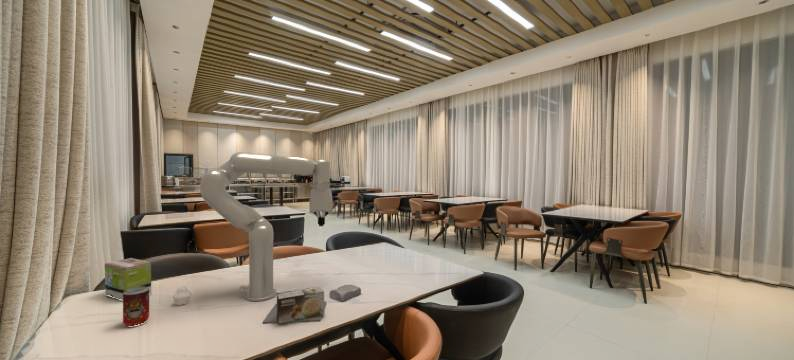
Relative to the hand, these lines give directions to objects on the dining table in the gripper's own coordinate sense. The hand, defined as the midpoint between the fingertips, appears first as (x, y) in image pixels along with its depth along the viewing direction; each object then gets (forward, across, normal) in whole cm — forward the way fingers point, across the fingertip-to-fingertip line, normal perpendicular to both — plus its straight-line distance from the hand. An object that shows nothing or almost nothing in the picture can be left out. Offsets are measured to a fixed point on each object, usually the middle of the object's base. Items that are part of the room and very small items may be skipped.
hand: (321, 225), depth 142 cm
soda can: (+29, -58, -32) cm, 72 cm away
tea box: (+29, -81, -6) cm, 86 cm away
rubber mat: (+29, -4, -26) cm, 39 cm away
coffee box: (+24, +6, -27) cm, 36 cm away
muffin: (+29, -53, -16) cm, 62 cm away
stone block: (+29, +12, -10) cm, 33 cm away
